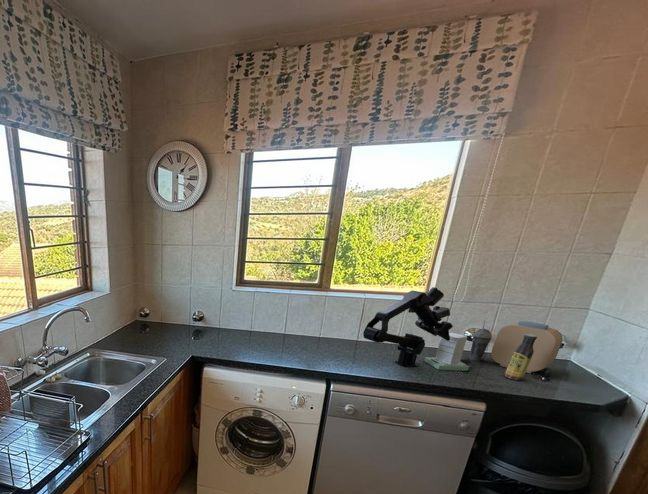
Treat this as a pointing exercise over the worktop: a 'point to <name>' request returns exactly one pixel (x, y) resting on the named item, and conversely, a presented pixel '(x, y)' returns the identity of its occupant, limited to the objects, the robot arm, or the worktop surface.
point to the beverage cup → (480, 343)
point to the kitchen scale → (446, 365)
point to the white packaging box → (451, 348)
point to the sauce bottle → (521, 358)
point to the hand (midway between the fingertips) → (442, 337)
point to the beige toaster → (543, 345)
